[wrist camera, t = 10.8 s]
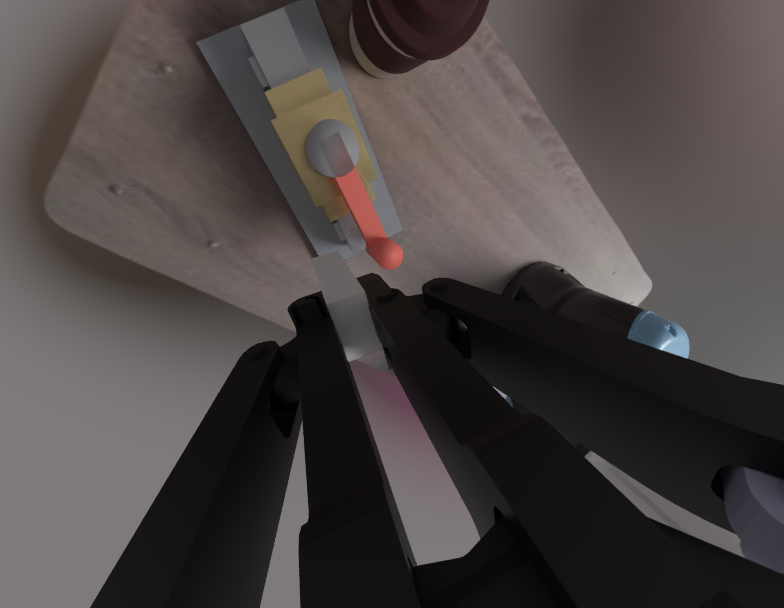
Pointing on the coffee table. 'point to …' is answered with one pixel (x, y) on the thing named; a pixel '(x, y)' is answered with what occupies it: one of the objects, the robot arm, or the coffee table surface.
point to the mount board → (251, 106)
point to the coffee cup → (410, 32)
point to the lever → (350, 185)
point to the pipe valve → (304, 114)
